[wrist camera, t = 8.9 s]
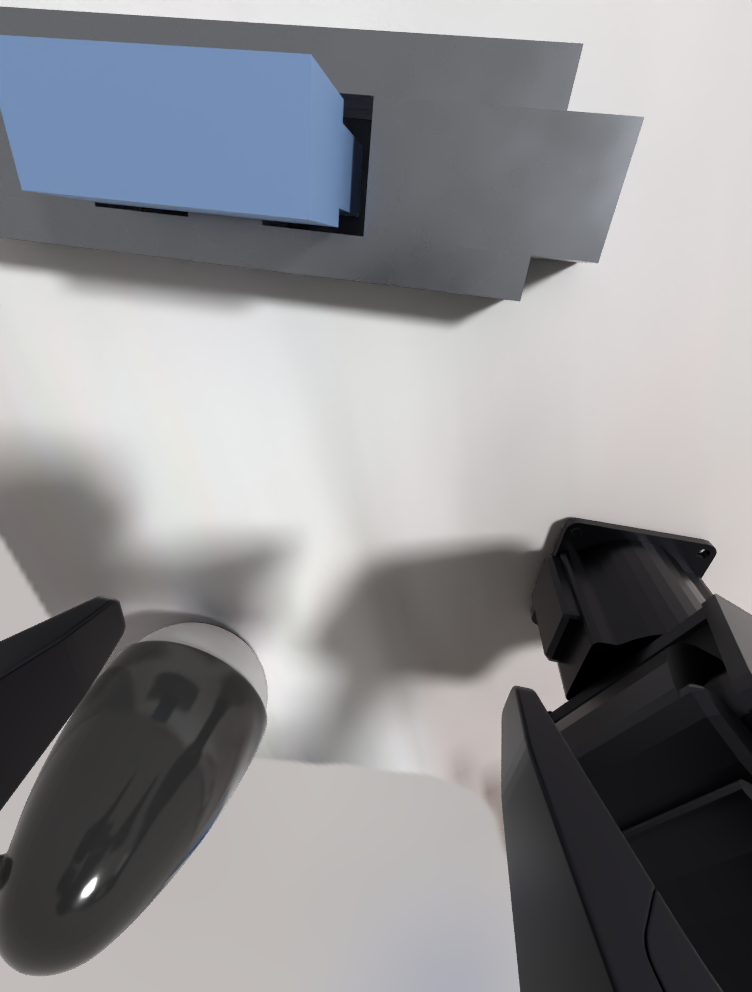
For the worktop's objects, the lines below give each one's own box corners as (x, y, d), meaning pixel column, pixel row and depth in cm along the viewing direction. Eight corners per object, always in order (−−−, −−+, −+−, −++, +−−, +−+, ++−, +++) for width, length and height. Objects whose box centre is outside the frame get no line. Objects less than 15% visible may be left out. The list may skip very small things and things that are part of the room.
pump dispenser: (150, 572, 26) (-152, 877, 13) (305, 634, 27) (158, 991, 14) (139, 668, 32) (-87, 956, 19) (269, 719, 32) (138, 1038, 19)
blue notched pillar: (364, 128, 14) (310, 54, 9) (357, 232, 16) (308, 219, 11) (144, 111, 15) (-20, 33, 10) (158, 211, 17) (21, 190, 11)
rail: (630, 85, 13) (665, 49, 11) (566, 302, 16) (583, 309, 14) (-72, 34, 15) (-160, -4, 13) (-12, 232, 18) (-76, 228, 16)
